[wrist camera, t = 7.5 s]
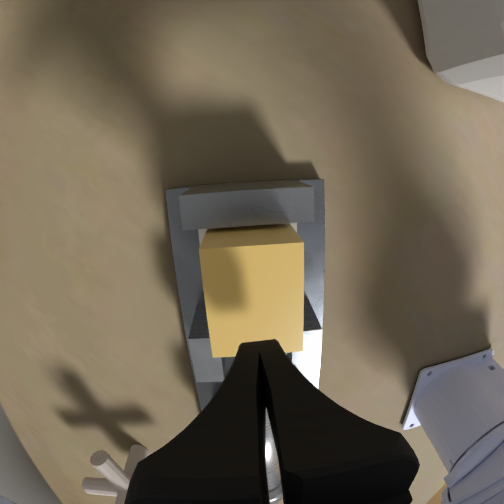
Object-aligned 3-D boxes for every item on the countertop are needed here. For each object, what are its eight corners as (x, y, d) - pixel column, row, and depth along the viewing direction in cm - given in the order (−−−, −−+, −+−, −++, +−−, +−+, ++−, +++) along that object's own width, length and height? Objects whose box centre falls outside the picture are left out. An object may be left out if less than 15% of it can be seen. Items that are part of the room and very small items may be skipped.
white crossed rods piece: (161, 412, 23) (139, 510, 14) (204, 472, 26) (199, 553, 17) (74, 418, 24) (38, 495, 14) (124, 475, 27) (106, 544, 17)
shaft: (285, 367, 21) (294, 407, 17) (284, 471, 25) (289, 503, 21) (227, 372, 21) (226, 412, 17) (242, 474, 25) (244, 507, 21)
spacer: (282, 214, 18) (303, 242, 12) (285, 295, 19) (302, 351, 14) (211, 218, 18) (198, 249, 12) (219, 299, 19) (212, 357, 13)
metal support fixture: (319, 178, 18) (345, 186, 14) (307, 462, 26) (315, 499, 22) (169, 188, 18) (146, 198, 14) (218, 468, 26) (217, 506, 22)
